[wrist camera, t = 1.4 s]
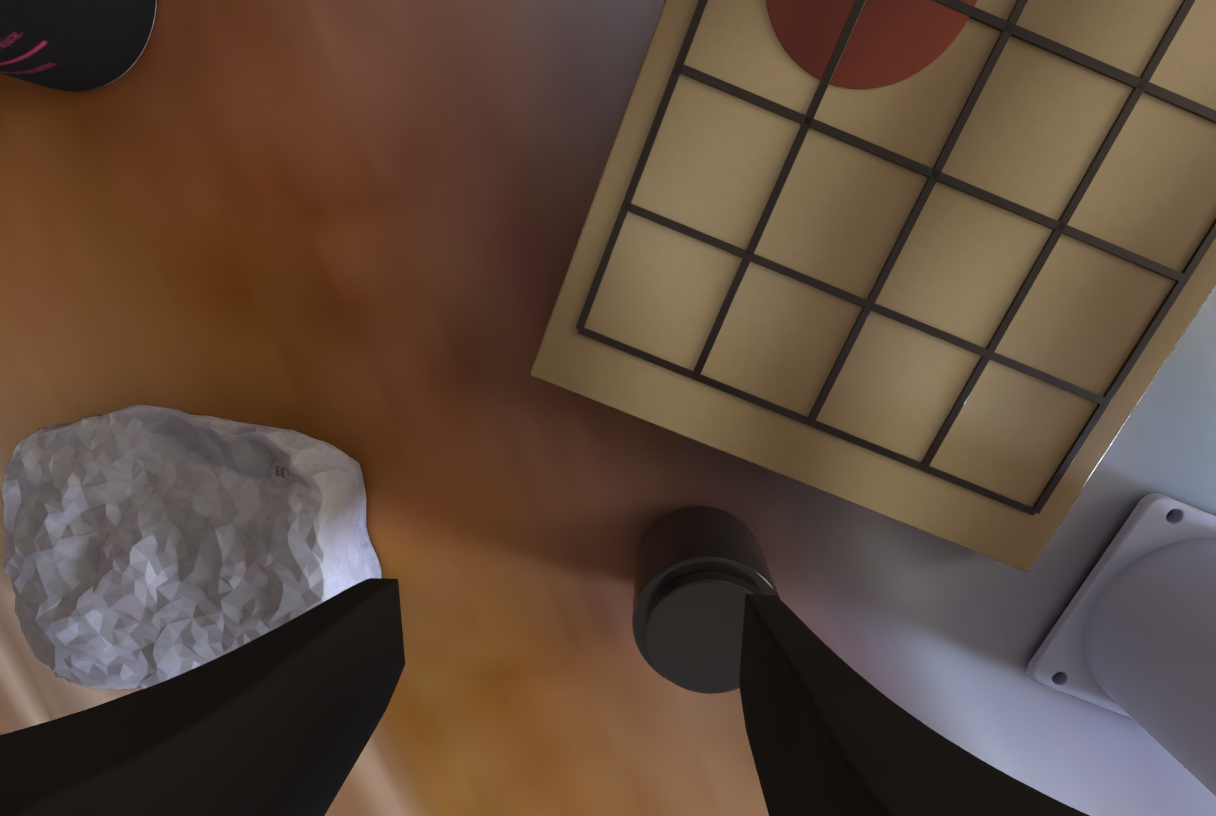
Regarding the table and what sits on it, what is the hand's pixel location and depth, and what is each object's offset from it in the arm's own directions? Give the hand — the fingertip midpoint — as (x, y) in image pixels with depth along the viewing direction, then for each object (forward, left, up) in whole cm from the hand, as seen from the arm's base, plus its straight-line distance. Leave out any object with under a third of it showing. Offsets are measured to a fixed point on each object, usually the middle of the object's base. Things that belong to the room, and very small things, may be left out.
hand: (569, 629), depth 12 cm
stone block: (+13, +7, -10) cm, 18 cm away
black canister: (-4, +2, -10) cm, 11 cm away
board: (-5, -13, -10) cm, 17 cm away
